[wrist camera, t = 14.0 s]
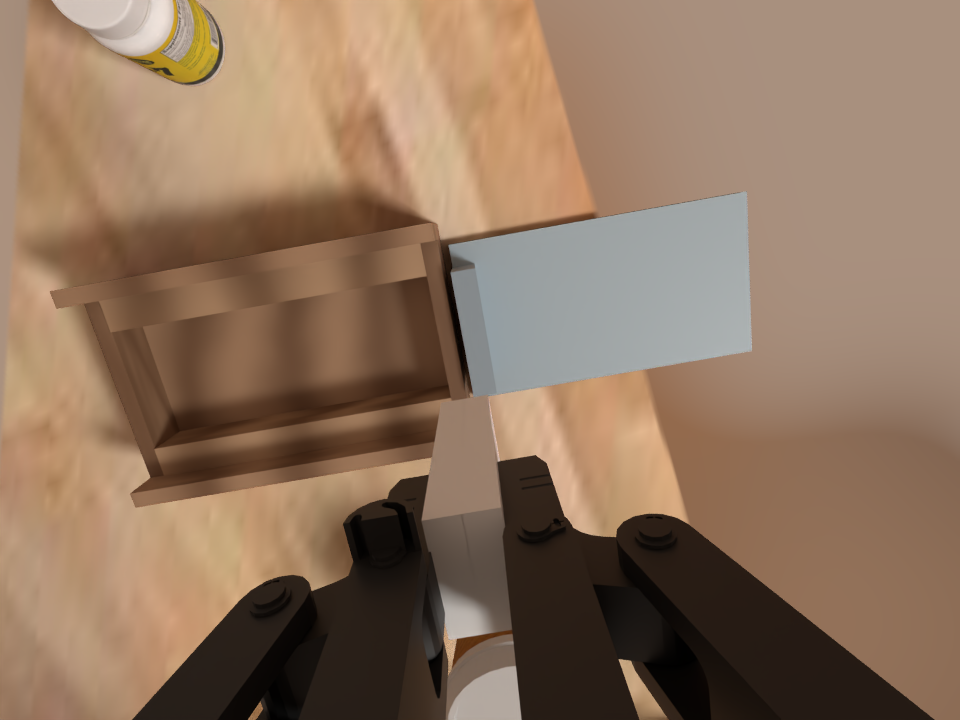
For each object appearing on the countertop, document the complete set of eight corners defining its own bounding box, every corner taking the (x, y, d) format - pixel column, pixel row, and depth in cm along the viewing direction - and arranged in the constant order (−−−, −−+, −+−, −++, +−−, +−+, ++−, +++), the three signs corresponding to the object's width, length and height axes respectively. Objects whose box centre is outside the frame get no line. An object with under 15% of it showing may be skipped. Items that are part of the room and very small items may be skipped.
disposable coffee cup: (586, 584, 41) (632, 725, 29) (501, 650, 42) (513, 808, 31) (509, 510, 39) (527, 629, 27) (423, 582, 40) (405, 723, 29)
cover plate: (737, 192, 34) (784, 186, 29) (742, 347, 37) (786, 365, 32) (449, 244, 34) (445, 247, 29) (476, 392, 37) (477, 418, 32)
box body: (437, 223, 33) (430, 222, 28) (473, 415, 37) (474, 450, 31) (121, 281, 34) (49, 291, 28) (187, 464, 37) (135, 507, 32)
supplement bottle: (135, 56, 30) (14, -7, 22) (168, -17, 29) (54, -111, 21) (207, 104, 31) (115, 59, 23) (241, 34, 30) (158, -38, 22)
